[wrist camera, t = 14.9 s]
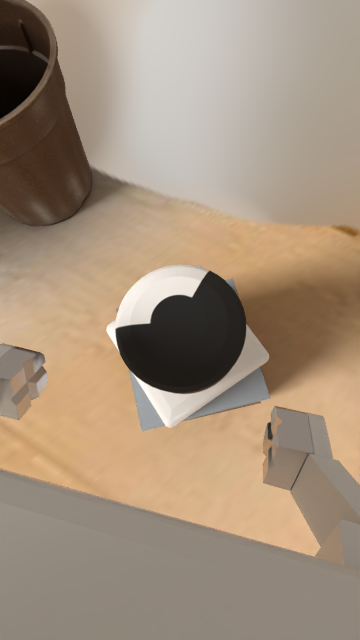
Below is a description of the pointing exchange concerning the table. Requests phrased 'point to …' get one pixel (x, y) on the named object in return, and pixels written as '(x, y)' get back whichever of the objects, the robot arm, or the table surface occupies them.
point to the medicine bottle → (184, 339)
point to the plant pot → (36, 123)
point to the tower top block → (235, 396)
